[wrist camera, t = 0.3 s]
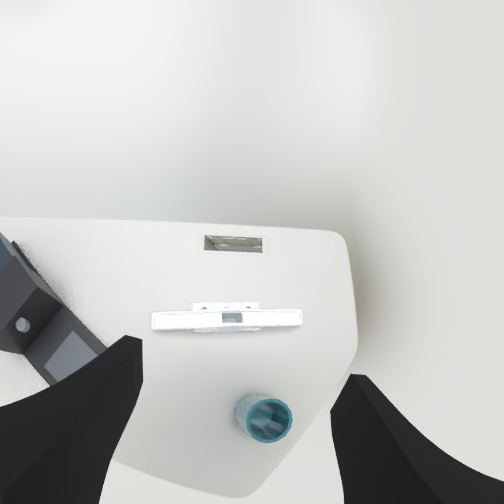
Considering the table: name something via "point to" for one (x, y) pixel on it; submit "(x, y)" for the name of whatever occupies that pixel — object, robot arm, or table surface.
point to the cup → (263, 417)
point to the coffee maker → (39, 320)
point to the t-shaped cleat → (225, 317)
